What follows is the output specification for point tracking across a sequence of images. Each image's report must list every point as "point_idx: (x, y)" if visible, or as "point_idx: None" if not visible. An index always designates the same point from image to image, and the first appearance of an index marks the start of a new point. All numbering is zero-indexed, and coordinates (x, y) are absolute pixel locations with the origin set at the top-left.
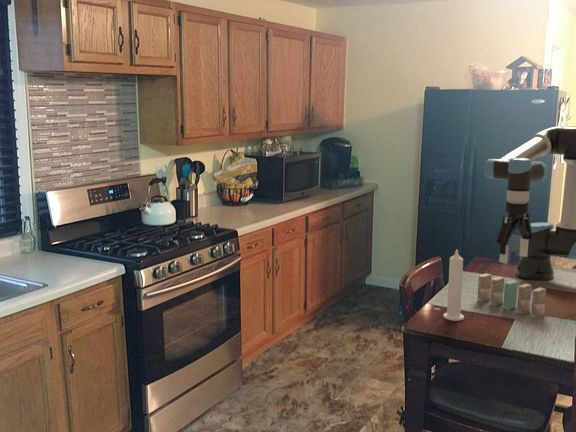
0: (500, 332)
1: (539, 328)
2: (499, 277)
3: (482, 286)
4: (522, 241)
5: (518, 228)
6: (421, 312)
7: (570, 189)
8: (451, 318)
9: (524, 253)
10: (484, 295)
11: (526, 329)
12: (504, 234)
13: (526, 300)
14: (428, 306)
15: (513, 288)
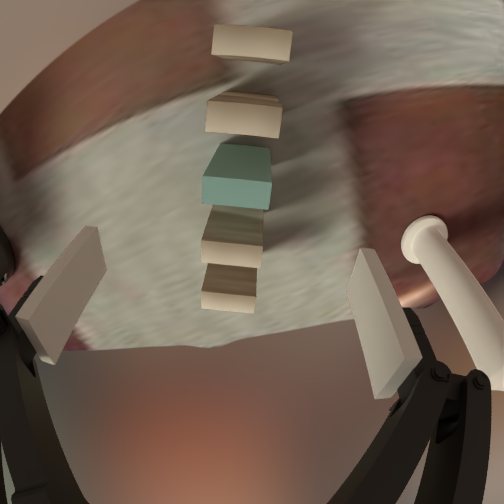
0: (459, 103)
1: (363, 13)
2: (211, 257)
3: (256, 274)
4: (57, 335)
5: (70, 472)
6: (421, 299)
7: None
8: (446, 236)
9: (90, 252)
10: None
11: (398, 44)
12: (481, 462)
13: (252, 97)
14: None
15: (240, 169)
